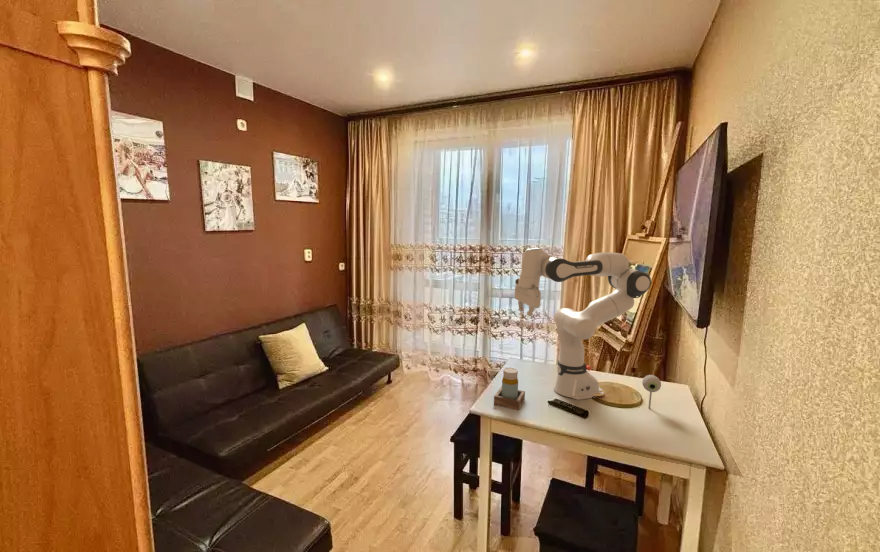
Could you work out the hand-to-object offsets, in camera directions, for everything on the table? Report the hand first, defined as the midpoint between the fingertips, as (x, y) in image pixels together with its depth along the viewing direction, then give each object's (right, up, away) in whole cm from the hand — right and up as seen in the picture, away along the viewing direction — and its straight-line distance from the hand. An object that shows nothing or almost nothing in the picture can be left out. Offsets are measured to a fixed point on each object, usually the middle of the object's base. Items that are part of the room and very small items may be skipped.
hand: (524, 313), depth 173 cm
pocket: (-8, -40, -3) cm, 40 cm away
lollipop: (+52, -41, -8) cm, 67 cm away
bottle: (-8, -40, -3) cm, 41 cm away
